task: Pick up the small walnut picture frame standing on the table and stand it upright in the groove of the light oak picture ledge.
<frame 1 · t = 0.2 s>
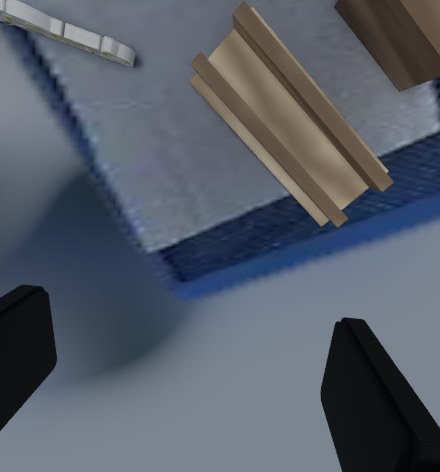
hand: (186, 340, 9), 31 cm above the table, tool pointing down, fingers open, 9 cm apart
walnut picture frame: (376, 41, 32), on the table
picture ledge: (287, 128, 35), on the table
decorative sign: (71, 40, 35), on the table
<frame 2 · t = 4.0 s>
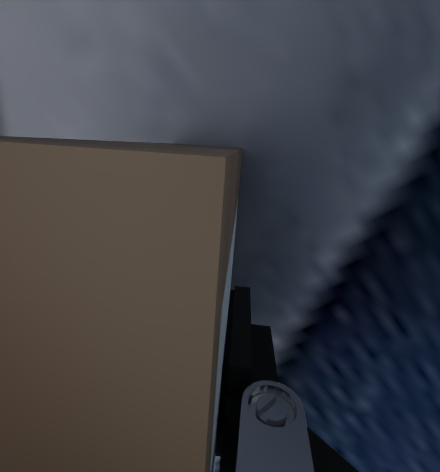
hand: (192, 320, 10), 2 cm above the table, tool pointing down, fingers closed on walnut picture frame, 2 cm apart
walnut picture frame: (199, 296, 12), on the table, touching gripper
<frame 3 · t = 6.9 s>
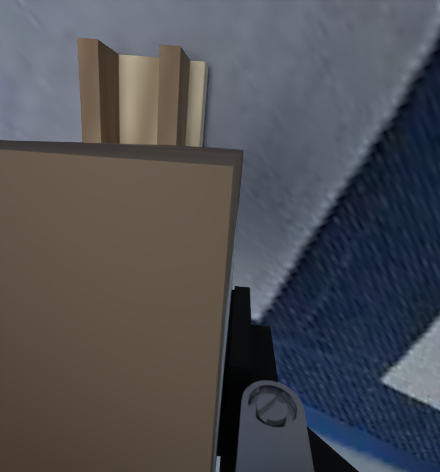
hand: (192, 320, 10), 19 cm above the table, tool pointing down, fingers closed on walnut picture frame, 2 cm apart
walnut picture frame: (200, 297, 12), point 18 cm above the table, touching gripper
picture ledge: (150, 196, 29), on the table
when the fingers open (6 cm above the table, at t = 10.2 s): walnut picture frame drops 2 cm, resting on picture ledge.
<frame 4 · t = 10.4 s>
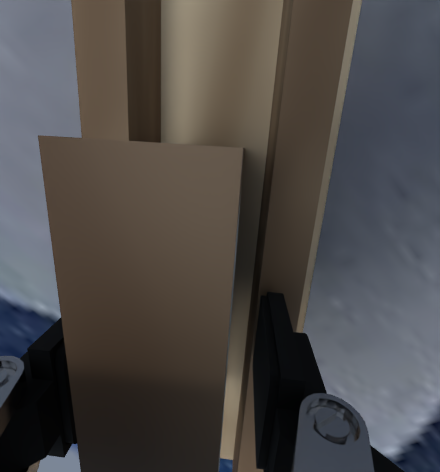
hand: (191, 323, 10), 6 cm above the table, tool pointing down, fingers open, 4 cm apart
walnut picture frame: (208, 275, 14), point 2 cm above the table, touching picture ledge
picture ledge: (210, 260, 16), on the table
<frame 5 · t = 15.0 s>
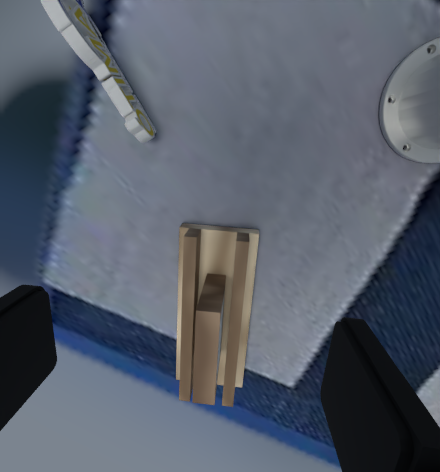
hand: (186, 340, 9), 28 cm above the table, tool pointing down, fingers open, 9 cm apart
walnut picture frame: (214, 313, 39), point 2 cm above the table, touching picture ledge
picture ledge: (214, 306, 41), on the table
decorative sign: (116, 67, 33), on the table
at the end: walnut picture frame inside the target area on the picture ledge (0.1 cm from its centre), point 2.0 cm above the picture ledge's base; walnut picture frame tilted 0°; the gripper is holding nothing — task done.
